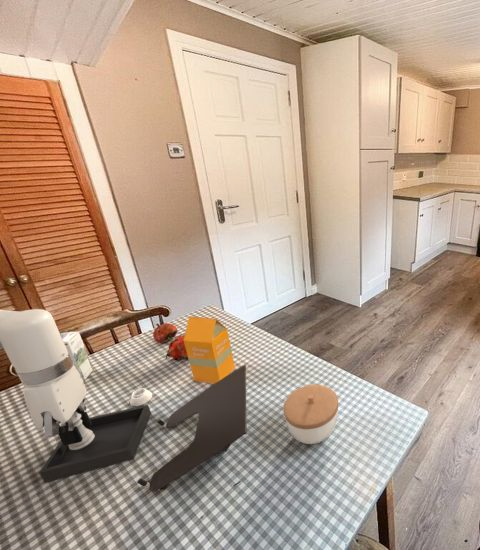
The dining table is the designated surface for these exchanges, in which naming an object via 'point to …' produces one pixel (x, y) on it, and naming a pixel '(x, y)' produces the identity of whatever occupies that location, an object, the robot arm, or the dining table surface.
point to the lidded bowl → (311, 413)
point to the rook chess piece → (84, 432)
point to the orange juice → (208, 349)
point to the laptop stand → (206, 427)
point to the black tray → (100, 444)
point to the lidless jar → (140, 397)
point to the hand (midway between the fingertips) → (78, 434)
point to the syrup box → (77, 353)
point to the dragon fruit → (177, 349)
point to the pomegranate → (164, 332)
